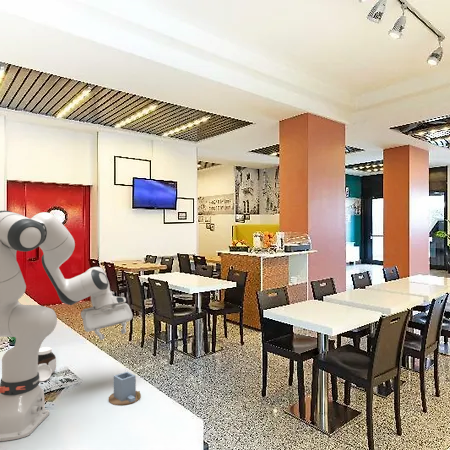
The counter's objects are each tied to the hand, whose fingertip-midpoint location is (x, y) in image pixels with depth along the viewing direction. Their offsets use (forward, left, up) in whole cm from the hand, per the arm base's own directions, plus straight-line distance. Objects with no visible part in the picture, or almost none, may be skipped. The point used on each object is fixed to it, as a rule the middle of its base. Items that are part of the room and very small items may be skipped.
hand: (113, 336), depth 156 cm
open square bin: (-11, -6, -21) cm, 24 cm away
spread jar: (+19, +32, -22) cm, 43 cm away
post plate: (-9, -5, -22) cm, 24 cm away
